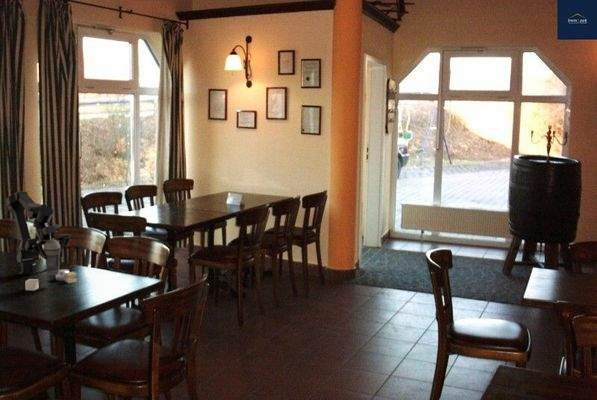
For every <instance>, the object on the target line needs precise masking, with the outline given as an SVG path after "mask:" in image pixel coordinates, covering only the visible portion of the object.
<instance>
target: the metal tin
mask: <svg viewBox="0 0 597 400" xmlns="http://www.w3.org/2000/svg"><path fill="white" fill-rule="evenodd" d="M68 272H70V269H68V268H67V269H62V268H61V269H59V274H57V275H55V280H56V281H58V282H65V275H64V273H68Z"/></svg>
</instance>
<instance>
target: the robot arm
mask: <svg viewBox="0 0 597 400" xmlns="http://www.w3.org/2000/svg"><path fill="white" fill-rule="evenodd" d="M5 205H6V207H7V210H8V212H10V213H11V214H12V215H13V217H14V222H15V225H16V230H17V232H18V237H19V241H20V244H19V246H18V252H17V255H16V262H18V263H19V264H20V272H19V273H17V274H18V275H22V276H23V275H24V276H31V275H34V274H35V275H36V274H37V273H39V270H37V263H36V261H39V257H41V258H43V259H44V260H45V261H46V259H47V257H46V254H45V252H44V250H43V248H44V247H43V246H44V244H45V243H46V242H47V241H48V240H50V233H51V239H54V240H56V241H58V242H59V244H60V247H61V250H60V258H62V257H63V247H64V246H67V245H68V244H69V243H70V240H71V236H70V234H68V233H66V234H63V233H62V234H59V236H58V237H57V238H55V237H56V234H57V233H59V232H60V231H61V227H60V225H59V224H58V223H57V224H53V225H49V222H50V221H51V218H52V216H53V214H54V210H53V208H52V207H50V206H48V205H47V204H46V203H43V204H40V203H36V202H35V201H34V200H33V198H31V196H30V195H28V192H27V191H16V192H15V193H13V194H11V195H9V196H8V197H7V198H6V199H5ZM25 210H26V215H25ZM26 216H27V217H26ZM26 218H28V219H29V220H33V223H32V224H33V225H32V227H33V228H34V229H35V232H36V236H37V237H35V238H34V237H33V238H31V234H30V231H29V227H28V226H29V225H28V223H27V219H26Z"/></svg>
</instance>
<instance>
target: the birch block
mask: <svg viewBox="0 0 597 400" xmlns="http://www.w3.org/2000/svg"><path fill="white" fill-rule="evenodd" d="M77 274H78V273H77V272H75V271H69V272H68V273H64V275H65V281H64V282H65V283H67V284H72V283H76V282H78V279H77V278H78V276H77Z"/></svg>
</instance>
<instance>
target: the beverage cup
mask: <svg viewBox="0 0 597 400" xmlns="http://www.w3.org/2000/svg"><path fill="white" fill-rule="evenodd" d="M54 239H55V238H54ZM54 239H51V233H50V240H48V241H47V242H46V243H45V244H44V245H43V247H42V248H43V250H44V252H45V254H46V257H47V259H46V260H45V263H46V271H47V275H48V276H56V275H57V274H59V270H60V260H61V259H60V258H61V257H60V250H61V247H60V244H59V242H58V241H56V240H54Z"/></svg>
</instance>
